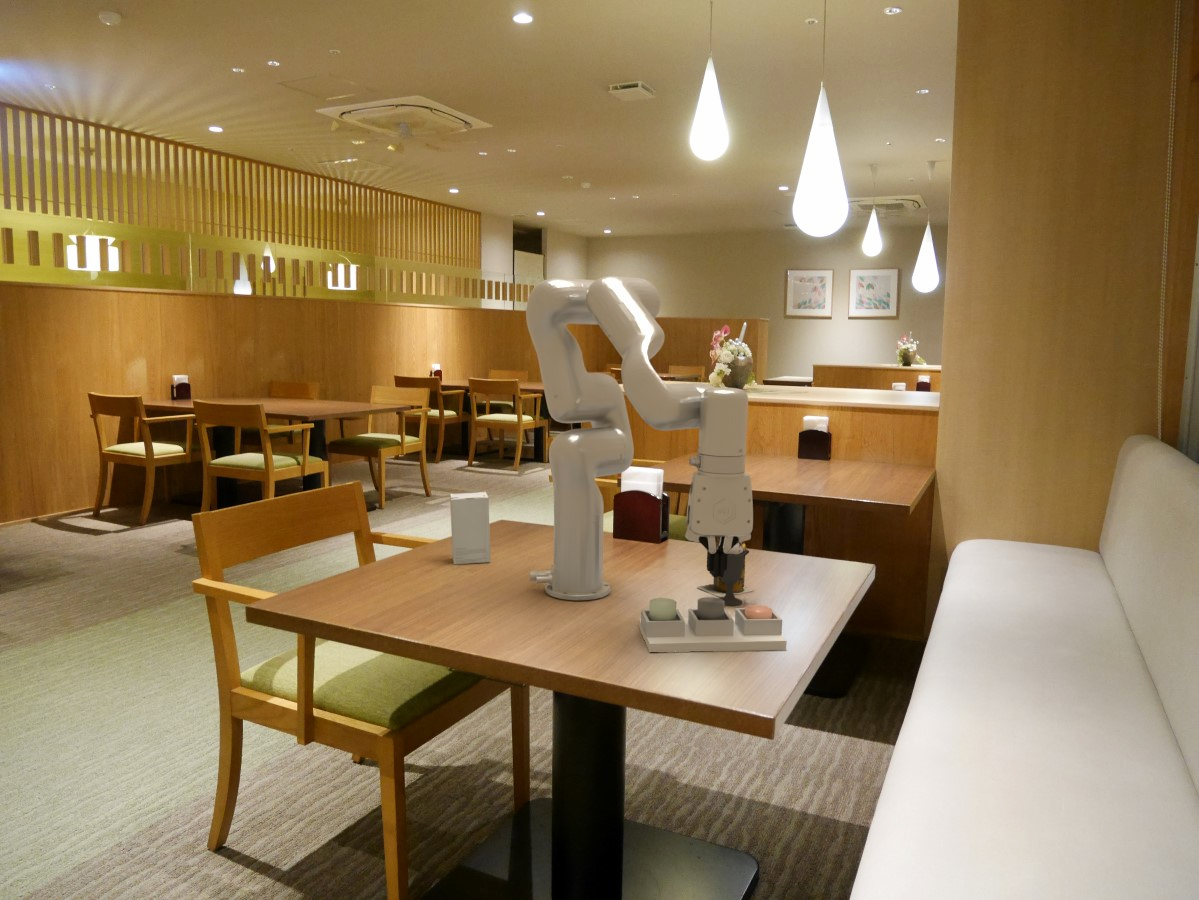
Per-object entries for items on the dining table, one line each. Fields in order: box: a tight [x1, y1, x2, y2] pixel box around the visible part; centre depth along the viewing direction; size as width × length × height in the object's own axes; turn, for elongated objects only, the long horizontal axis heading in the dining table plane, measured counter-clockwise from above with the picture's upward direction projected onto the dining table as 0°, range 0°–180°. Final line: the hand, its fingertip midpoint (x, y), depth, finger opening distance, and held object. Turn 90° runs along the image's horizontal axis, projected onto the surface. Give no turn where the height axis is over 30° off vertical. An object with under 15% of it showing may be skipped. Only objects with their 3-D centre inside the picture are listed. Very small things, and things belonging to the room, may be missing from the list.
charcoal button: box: [696, 596, 726, 620], centre depth 141 cm, size 4×4×3 cm
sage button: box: [648, 597, 677, 621], centre depth 140 cm, size 4×4×3 cm
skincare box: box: [449, 491, 492, 566], centre depth 187 cm, size 8×6×15 cm
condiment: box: [697, 536, 754, 598], centre depth 169 cm, size 7×8×12 cm
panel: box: [638, 607, 788, 653], centre depth 142 cm, size 22×12×4 cm, turn 95°
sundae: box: [716, 542, 750, 607], centre depth 160 cm, size 7×7×15 cm
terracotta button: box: [744, 604, 773, 619], centre depth 142 cm, size 4×4×3 cm
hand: (716, 574), depth 141 cm, fingers closed
